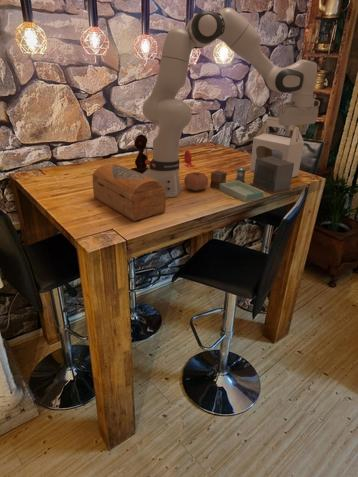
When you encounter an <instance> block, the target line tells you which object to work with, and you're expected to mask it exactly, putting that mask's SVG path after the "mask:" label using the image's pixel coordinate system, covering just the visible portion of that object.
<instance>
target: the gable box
mask: <svg viewBox="0 0 358 477" xmlns="http://www.w3.org/2000/svg"><path fill="white" fill-rule="evenodd" d="M278 120H279V117H275V116H268V117H267V118H265V121H263V122H262V125H261V127H260V128H259V129H258V131H257V132H256V134H254V137H253V141H252V149H251V150H252V151H251V157H250V164H249V171H251V172H254V171H255V163H256V158H264V157H271V156H273V151H279V152H281V153H282V157H281V159H282V160H285V161H288V162H292V163H294V168H293V174H292V178H295V177H298V176H299V172H300V166H301V161H302V157H303V156H302V155H303V150H304V144H305V141H304V139H303V136H302V134H300V131H301V129H300V127H298V126H297V125H290V128H289V131H292V132H291V137H290V136H285V135H284V136H283V135H277V134H273V133H269V129H270V127H273V128H280V129H284V126H283V125H279V123H278Z"/></svg>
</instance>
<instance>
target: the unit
mask: <svg viewBox="0 0 358 477" xmlns="http://www.w3.org/2000/svg"><path fill="white" fill-rule="evenodd" d="M293 168H294V163H292V162H288V161H285V160H282V158H279V157H276V156H273V155H272V156H271V157H264V158H256V163H255V171H253V172H254V173H253V181H252V182H250V183H249V185H250V186H252V187H255V188H257V189H259V190H262V191H264V192H265V193H268V194H270V195H272V196H277V195H280V194H285V193H289V192H294V189H293V188H291V185H292V184H291V183H292V179H293V177H292V174H293Z"/></svg>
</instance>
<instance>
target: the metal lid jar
mask: <svg viewBox="0 0 358 477" xmlns="http://www.w3.org/2000/svg"><path fill="white" fill-rule="evenodd" d="M245 176H246V168H245V167H240V166H239V167H237V168H236V176H235V181H238V180H239V181H241V182H243V183H245Z"/></svg>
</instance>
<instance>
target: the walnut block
mask: <svg viewBox="0 0 358 477" xmlns="http://www.w3.org/2000/svg"><path fill="white" fill-rule="evenodd" d="M210 172H211V173H210V188H212V189H216V190H219V184H220V183H226V181H227V172H225V171H222V170H215V171H210ZM219 191H220V190H219Z"/></svg>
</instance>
